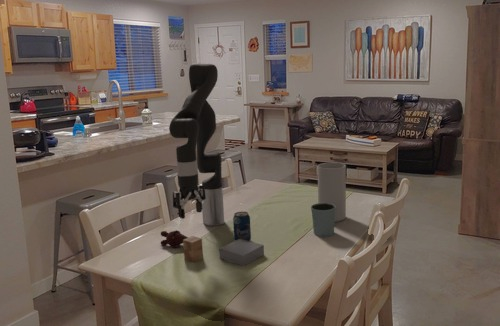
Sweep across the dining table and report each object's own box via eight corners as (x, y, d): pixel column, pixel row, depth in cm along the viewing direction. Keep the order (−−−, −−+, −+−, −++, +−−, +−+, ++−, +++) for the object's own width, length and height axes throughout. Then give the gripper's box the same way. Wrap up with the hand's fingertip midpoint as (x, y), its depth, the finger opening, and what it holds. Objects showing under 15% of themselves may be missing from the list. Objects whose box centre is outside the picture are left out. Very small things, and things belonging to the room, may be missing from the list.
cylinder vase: (315, 221, 214) (314, 168, 209) (321, 212, 226) (321, 162, 220) (342, 223, 210) (342, 169, 204) (347, 214, 221) (347, 163, 216)
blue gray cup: (338, 230, 201) (338, 203, 199) (332, 239, 192) (331, 211, 190) (315, 228, 206) (315, 201, 203) (308, 236, 197) (307, 208, 194)
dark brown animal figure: (196, 229, 192) (166, 228, 198) (185, 231, 185) (155, 230, 192) (196, 247, 191) (166, 245, 198) (186, 249, 185) (155, 247, 191)
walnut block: (184, 259, 179) (182, 239, 177) (194, 255, 182) (192, 235, 181) (193, 262, 176) (192, 242, 174) (203, 258, 179) (201, 238, 178)
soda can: (238, 245, 190) (237, 217, 187) (231, 240, 196) (230, 213, 193) (254, 242, 193) (252, 214, 190) (246, 237, 199) (245, 210, 196)
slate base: (219, 258, 178) (219, 248, 177) (240, 248, 187) (240, 238, 186) (243, 265, 171) (243, 255, 170) (264, 254, 180) (263, 245, 179)
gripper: (194, 168, 180) (197, 208, 183) (165, 175, 169) (169, 218, 172) (208, 170, 175) (211, 211, 178) (179, 178, 164) (183, 222, 168)
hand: (190, 215), depth 175 cm, fingers open, 8 cm apart
